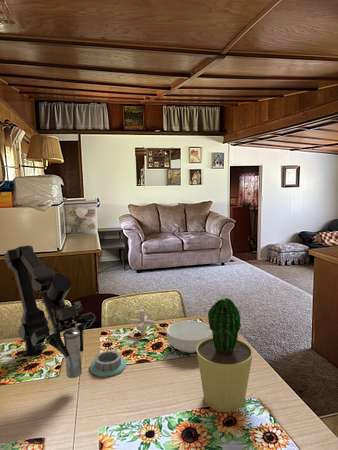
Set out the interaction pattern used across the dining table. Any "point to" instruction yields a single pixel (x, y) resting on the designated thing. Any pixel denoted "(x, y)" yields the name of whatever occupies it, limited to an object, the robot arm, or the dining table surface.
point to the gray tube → (73, 353)
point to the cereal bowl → (187, 335)
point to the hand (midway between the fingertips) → (75, 354)
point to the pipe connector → (142, 322)
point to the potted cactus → (224, 359)
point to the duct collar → (108, 364)
